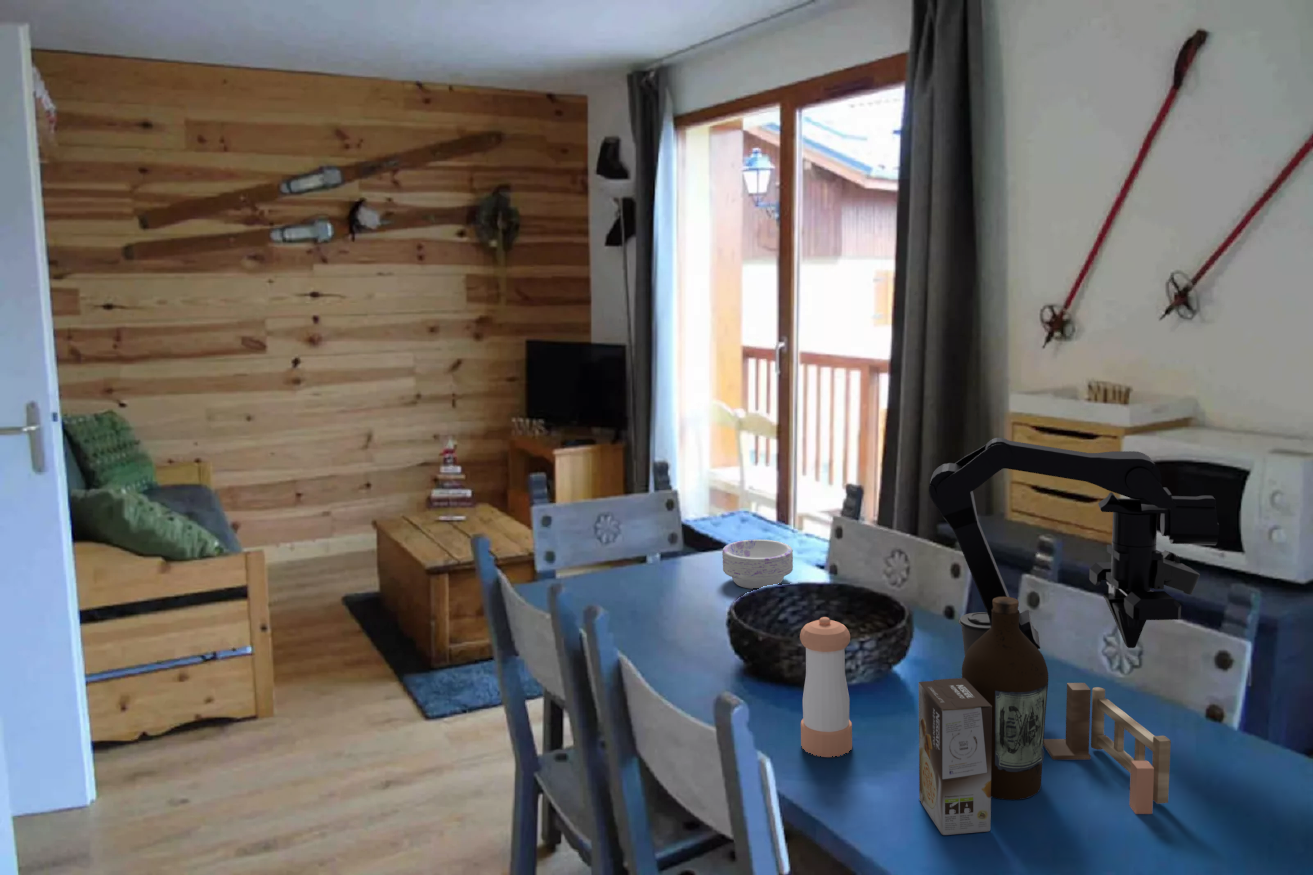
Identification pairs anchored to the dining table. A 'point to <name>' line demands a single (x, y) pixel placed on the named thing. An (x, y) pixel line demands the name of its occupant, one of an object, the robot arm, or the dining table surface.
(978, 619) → the coffee cup
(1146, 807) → the post
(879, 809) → the dining table surface
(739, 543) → the white patterned bowl
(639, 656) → the dining table surface
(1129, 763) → the gate
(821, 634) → the salt shaker
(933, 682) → the coffee box
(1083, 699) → the hinge post
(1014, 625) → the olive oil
